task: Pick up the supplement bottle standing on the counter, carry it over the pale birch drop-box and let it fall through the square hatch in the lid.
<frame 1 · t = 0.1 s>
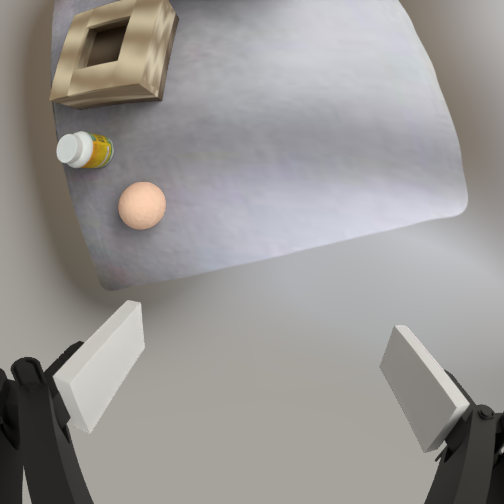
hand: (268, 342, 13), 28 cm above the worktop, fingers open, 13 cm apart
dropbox: (126, 61, 34), on the worktop
supplement bottle: (102, 152, 38), on the worktop
egg: (152, 203, 40), on the worktop
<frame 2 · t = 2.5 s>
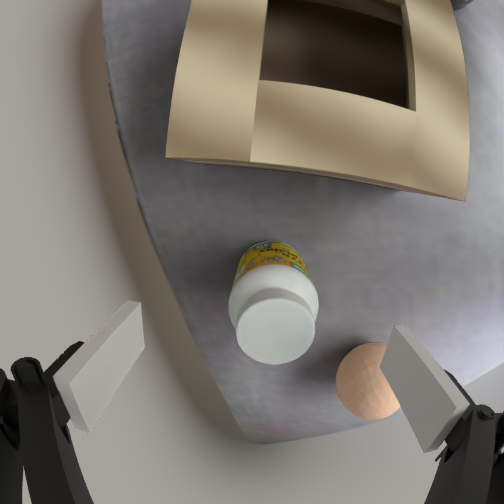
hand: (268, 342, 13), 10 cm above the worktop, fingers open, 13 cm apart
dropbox: (316, 79, 18), on the worktop
supplement bottle: (271, 270, 23), on the worktop
egg: (360, 355, 25), on the worktop
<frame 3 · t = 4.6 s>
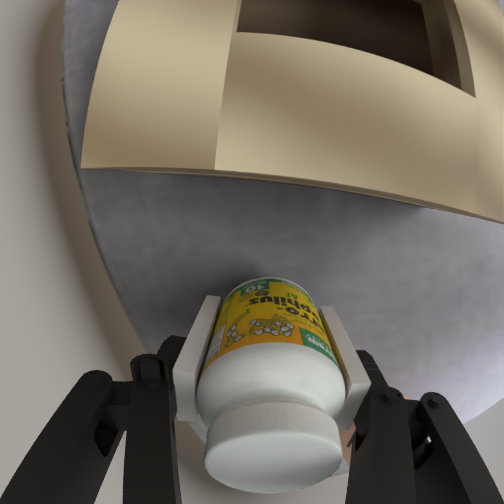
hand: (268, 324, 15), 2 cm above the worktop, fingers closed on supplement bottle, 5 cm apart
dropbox: (319, 61, 13), on the worktop
supplement bottle: (268, 316, 15), point 1 cm above the worktop, touching gripper
egg: (368, 402, 19), on the worktop
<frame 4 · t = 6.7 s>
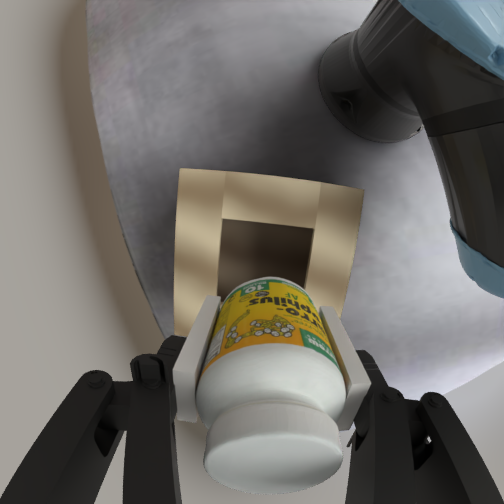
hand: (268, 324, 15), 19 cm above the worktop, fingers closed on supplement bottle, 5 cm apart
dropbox: (262, 245, 33), on the worktop
supplement bottle: (268, 317, 15), point 18 cm above the worktop, touching gripper
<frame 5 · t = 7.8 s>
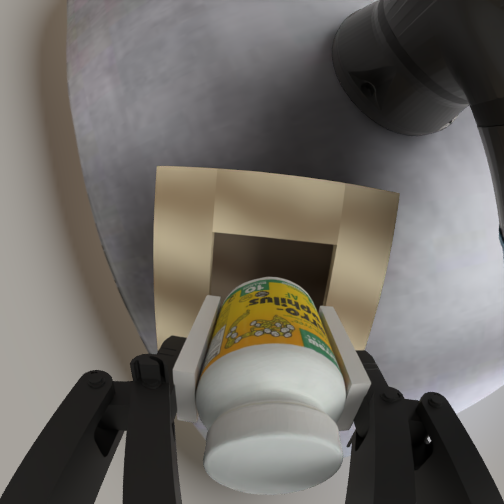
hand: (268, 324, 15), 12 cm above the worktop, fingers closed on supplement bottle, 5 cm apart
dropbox: (267, 260, 27), on the worktop
supplement bottle: (268, 317, 15), point 12 cm above the worktop, touching gripper
when the fingers open (10 cm above the worktop, at t = 8.6 s): supplement bottle drops 7 cm, resting on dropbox.
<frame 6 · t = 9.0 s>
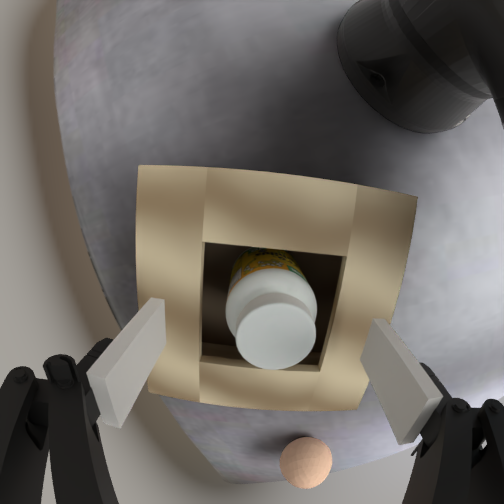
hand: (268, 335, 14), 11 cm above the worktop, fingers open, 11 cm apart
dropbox: (266, 269, 24), on the worktop
supplement bottle: (265, 274, 22), point 2 cm above the worktop, touching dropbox
egg: (303, 439, 31), on the worktop
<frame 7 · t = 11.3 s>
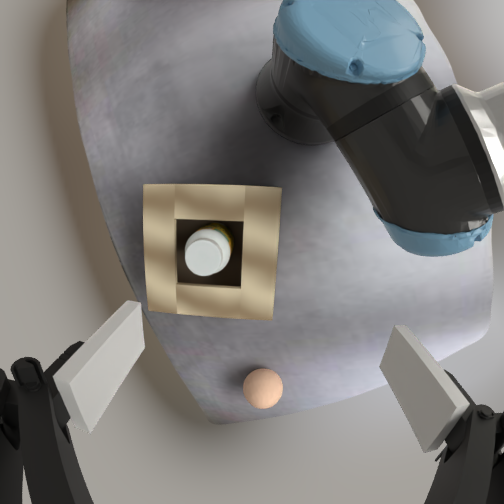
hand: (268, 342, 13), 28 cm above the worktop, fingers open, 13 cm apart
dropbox: (218, 239, 40), on the worktop
supplement bottle: (215, 240, 39), point 2 cm above the worktop, touching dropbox
egg: (262, 374, 46), on the worktop
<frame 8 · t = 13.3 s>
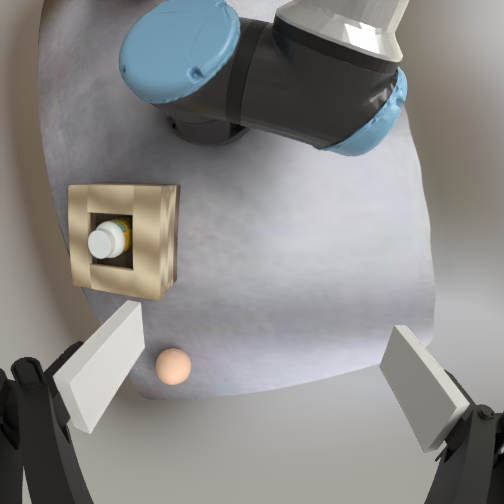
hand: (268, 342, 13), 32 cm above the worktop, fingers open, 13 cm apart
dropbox: (134, 230, 44), on the worktop
supplement bottle: (129, 230, 43), point 2 cm above the worktop, touching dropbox
egg: (178, 354, 51), on the worktop
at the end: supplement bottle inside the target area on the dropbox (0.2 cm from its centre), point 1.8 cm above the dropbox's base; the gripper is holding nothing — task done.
